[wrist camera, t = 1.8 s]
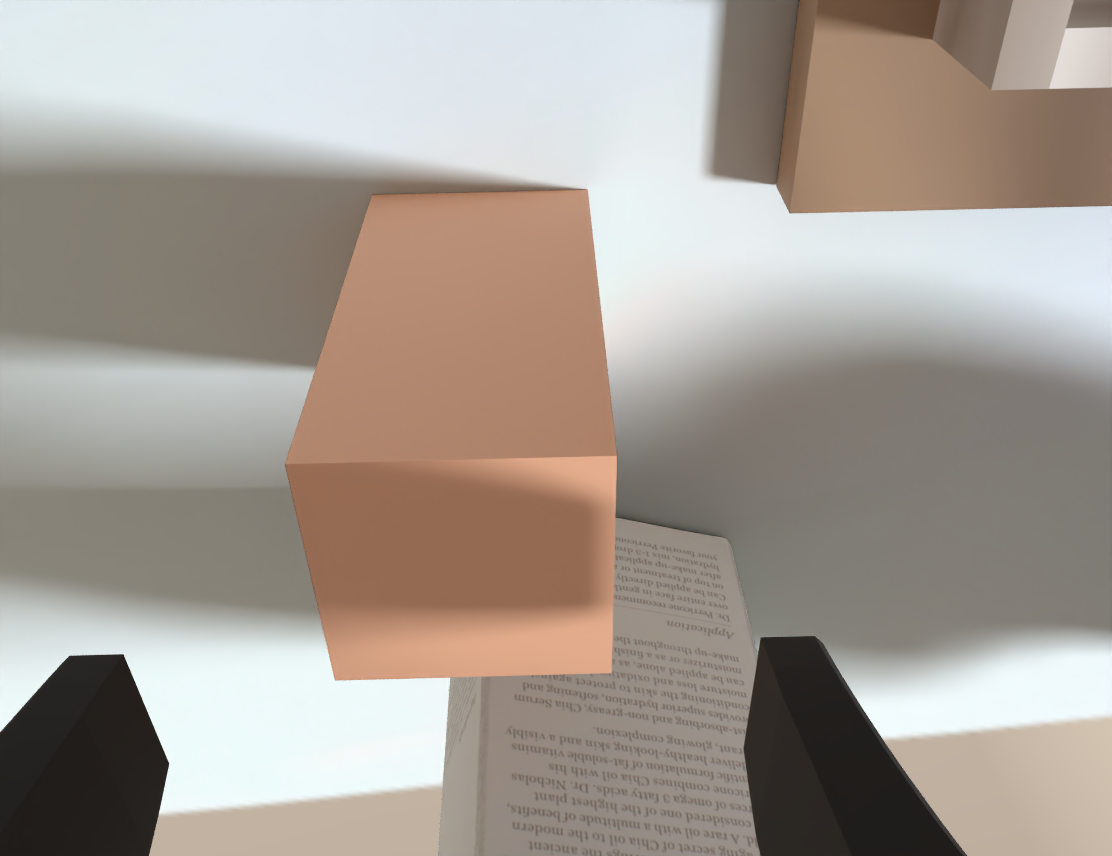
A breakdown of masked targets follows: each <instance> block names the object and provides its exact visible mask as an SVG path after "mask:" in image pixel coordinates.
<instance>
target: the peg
mask: <svg viewBox="0 0 1112 856" xmlns="http://www.w3.org/2000/svg"><path fill="white" fill-rule="evenodd" d="M285 467H286V471H287V475H288V480H289V484H290V488H291V492H292V497H293V501H294V505H295V510H296V514H297V518H298V523H299V527H300V531H301V536H302V540H303V544H304V549H305V553H306V557H307V562H308V566H309V570H310V575H311V579H312V583H313V588H314V592H315V596H316V600H317V605H318V609H319V613H320V618H321V622H322V626H323V631H324V635H325V639H326V644H327V648H328V652H329V657H330V661H331V665H332V670H333V674H334V678H335V680H371V679H409V678H447V677H485V676H523V675H562V674H600V673H612V639H613V599H614V559H615V519H616V479H617V451H616V442H615V433H614V424H613V415H612V406H611V396H610V387H609V378H608V369H607V360H606V351H605V342H604V333H603V324H602V315H601V306H600V297H599V288H598V279H597V270H596V261H595V252H594V243H593V234H592V225H591V216H590V207H589V198H588V190H549V191H507V192H465V193H423V194H381V195H372V196H371V200H370V203H369V206H368V209H367V212H366V215H365V218H364V221H363V224H362V227H361V230H360V234H359V237H358V240H357V243H356V246H355V249H354V252H353V255H352V258H351V261H350V265H349V268H348V271H347V274H346V277H345V280H344V283H343V286H342V289H341V292H340V295H339V299H338V302H337V305H336V308H335V311H334V314H333V317H332V320H331V323H330V326H329V329H328V333H327V336H326V339H325V342H324V345H323V348H322V351H321V354H320V357H319V360H318V363H317V367H316V370H315V373H314V376H313V379H312V382H311V385H310V388H309V391H308V394H307V398H306V401H305V404H304V407H303V410H302V413H301V416H300V419H299V422H298V425H297V428H296V432H295V435H294V438H293V441H292V444H291V447H290V450H289V453H288V456H287V459H286V462H285Z"/></svg>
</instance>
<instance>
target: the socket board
mask: <svg viewBox="0 0 1112 856" xmlns="http://www.w3.org/2000/svg"><path fill="white" fill-rule="evenodd" d="M776 186H777V188H778V190H779V192H780V194H781V197H782V199H783V201H784V203H785V205H786V207H787V209H788V211H789V213H826V212H869V211H912V210H954V209H997V208H1039V207H1082V206H1112V0H799V5H798V13H797V21H796V29H795V38H794V46H793V54H792V62H791V70H790V79H789V87H788V95H787V103H786V111H785V120H784V128H783V136H782V144H781V152H780V161H779V169H778V177H777V185H776Z"/></svg>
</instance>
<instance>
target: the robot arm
mask: <svg viewBox="0 0 1112 856" xmlns="http://www.w3.org/2000/svg"><path fill="white" fill-rule="evenodd" d="M743 749H744V756H745V764H746V771H747V778H748V786H749V793H750V800H751V807H752V813H753V820H754V827H755V833H756V839H757V843H758V847H759V851H760V855H761V856H967V855H966V854H965V852H964V851H963V850H962V848H961V847H960V846H959V844H958V843H957V842H956V841H955V839H954V838H953V837H952V835H951V834H950V833H949V831H948V830H947V829H946V827H945V826H944V825H943V824H942V822H941V821H940V820H939V818H938V817H937V815H936V814H935V813H934V811H933V810H932V808H931V807H930V806H929V804H928V803H927V802H926V800H925V799H924V797H923V796H922V795H921V793H920V792H919V790H918V789H917V788H916V787H915V785H914V784H913V782H912V781H911V779H910V778H909V777H908V775H907V774H906V772H905V771H904V770H903V768H902V767H901V765H900V764H899V763H898V761H897V760H896V758H895V757H894V755H893V754H892V752H891V751H890V750H889V748H888V747H887V745H886V744H885V742H884V741H883V739H882V738H881V736H880V734H879V733H878V731H877V730H876V728H875V727H874V725H873V724H872V722H871V721H870V719H869V718H868V716H867V715H866V713H865V712H864V710H863V709H862V707H861V705H860V704H859V702H858V701H857V699H856V698H855V696H854V694H853V693H852V691H851V690H850V688H849V686H848V685H847V683H846V682H845V680H844V678H843V677H842V675H841V673H840V672H839V670H838V668H837V667H836V665H835V663H834V662H833V660H832V658H831V657H830V655H829V653H828V651H827V650H826V648H825V646H824V644H823V643H822V642H821V641H820V640H819V639H817V638H816V637H815V636H802V637H764V638H761V640H760V646H759V652H758V659H757V665H756V672H755V678H754V684H753V691H752V697H751V703H750V710H749V716H748V722H747V729H746V735H745V741H744V748H743ZM168 767H169V762H168V760H167V758H166V755H165V753H164V750H163V748H162V746H161V743H160V741H159V738H158V736H157V734H156V731H155V729H154V726H153V724H152V722H151V719H150V717H149V715H148V712H147V710H146V707H145V705H144V703H143V700H142V698H141V695H140V693H139V691H138V688H137V686H136V683H135V681H134V679H133V676H132V674H131V671H130V669H129V667H128V664H127V662H126V660H125V657H124V655H123V654H119V655H81V656H69V657H68V658H67V659H66V660H65V661H64V662H63V663H62V664H61V665H60V666H59V667H58V668H57V670H56V671H55V672H54V673H53V674H52V675H51V676H50V677H49V678H48V679H47V680H46V682H45V683H44V684H43V685H42V686H41V687H40V688H39V689H38V690H37V692H36V693H35V694H34V695H33V696H32V697H31V698H30V699H29V701H28V702H27V703H26V704H25V705H24V706H23V707H22V708H21V710H20V711H19V712H18V713H17V714H16V715H15V716H14V717H13V719H12V720H11V721H10V722H9V723H8V724H7V725H6V726H5V728H4V729H3V730H2V731H1V732H0V856H149V853H150V848H151V844H152V840H153V836H154V831H155V827H156V823H157V819H158V815H159V810H160V805H161V801H162V796H163V791H164V786H165V781H166V776H167V772H168Z"/></svg>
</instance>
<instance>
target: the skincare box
mask: <svg viewBox="0 0 1112 856" xmlns="http://www.w3.org/2000/svg"><path fill="white" fill-rule="evenodd" d="M757 659H758V655H757V651H756V646H755V642H754V638H753V634H752V630H751V626H750V621H749V618H748V614H747V609H746V605H745V601H744V597H743V592H742V588H741V584H740V580H739V576H738V572H737V567H736V563H735V559H734V555H733V552H732V548H731V545H730V543H729V541H728V540H727V539H726V538H723V537H717V536H710V535H704V534H699V533H693V532H688V531H683V530H677V529H672V528H667V527H662V526H657V525H652V524H647V523H642V522H636V521H631V520H626V519H620V518H616V519H615V559H614V599H613V639H612V673H600V674H562V675H523V676H485V677H450V689H449V702H448V717H447V732H446V747H445V761H444V775H443V790H442V806H441V819H440V832H439V847H438V856H761V855H760V851H759V847H758V843H757V839H756V833H755V827H754V820H753V813H752V807H751V800H750V793H749V786H748V778H747V771H746V764H745V756H744V749H743V748H744V741H745V735H746V729H747V722H748V716H749V710H750V703H751V697H752V691H753V684H754V678H755V672H756V665H757Z"/></svg>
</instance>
